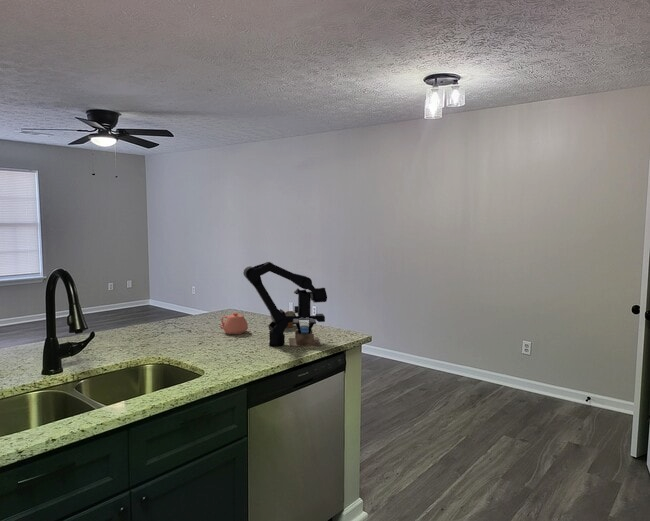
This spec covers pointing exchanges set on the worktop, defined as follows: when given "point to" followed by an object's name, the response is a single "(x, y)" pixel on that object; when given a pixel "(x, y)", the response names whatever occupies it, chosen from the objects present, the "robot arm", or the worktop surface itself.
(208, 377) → the worktop surface
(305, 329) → the block
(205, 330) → the worktop surface
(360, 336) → the worktop surface
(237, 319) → the sugar bowl
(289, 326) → the tin
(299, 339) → the cradle
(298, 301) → the robot arm
